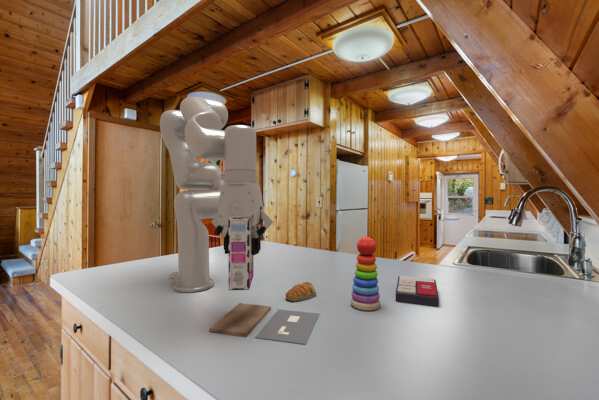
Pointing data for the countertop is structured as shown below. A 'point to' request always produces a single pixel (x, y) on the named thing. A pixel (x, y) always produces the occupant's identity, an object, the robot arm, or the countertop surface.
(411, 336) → the countertop surface
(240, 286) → the candy bar box
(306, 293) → the pastry
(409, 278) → the dark flat boxy piece
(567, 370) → the countertop surface
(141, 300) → the countertop surface
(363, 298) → the stacking toy
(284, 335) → the tile
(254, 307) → the walnut board
